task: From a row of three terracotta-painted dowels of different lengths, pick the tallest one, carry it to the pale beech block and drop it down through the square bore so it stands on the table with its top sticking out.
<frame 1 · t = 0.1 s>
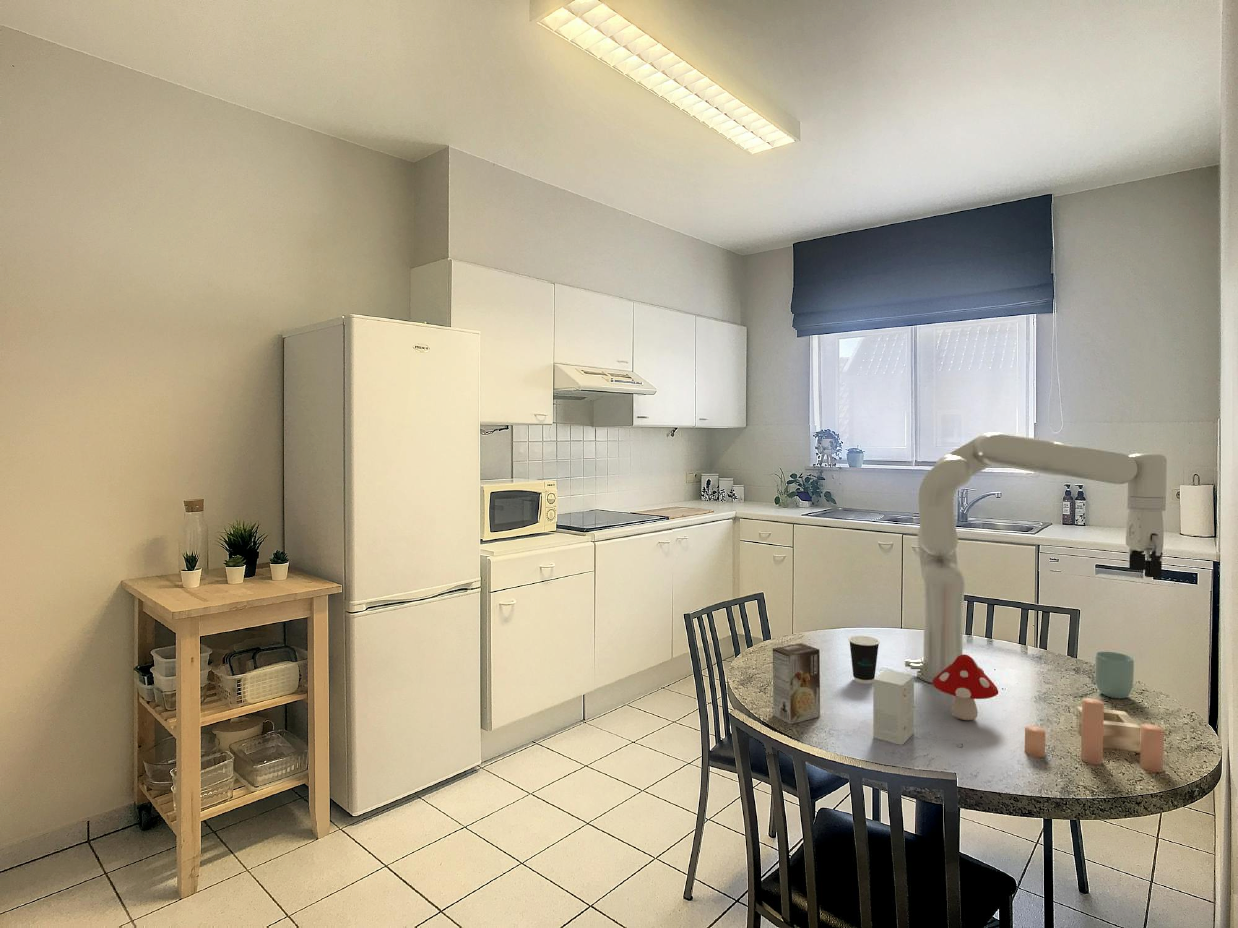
hand: (1144, 573, 169), 31 cm above the table, tool pointing down, fingers open, 9 cm apart
medium pin: (1151, 767, 135), on the table
small box: (893, 736, 151), on the table
cup: (1113, 696, 173), on the table
coffee box: (796, 717, 161), on the table
long pin: (1091, 760, 138), on the table
bore block: (1106, 739, 148), on the table
short pin: (1034, 753, 142), on the table
decorative mushroom: (965, 719, 159), on the table
dixie cup: (863, 681, 185), on the table
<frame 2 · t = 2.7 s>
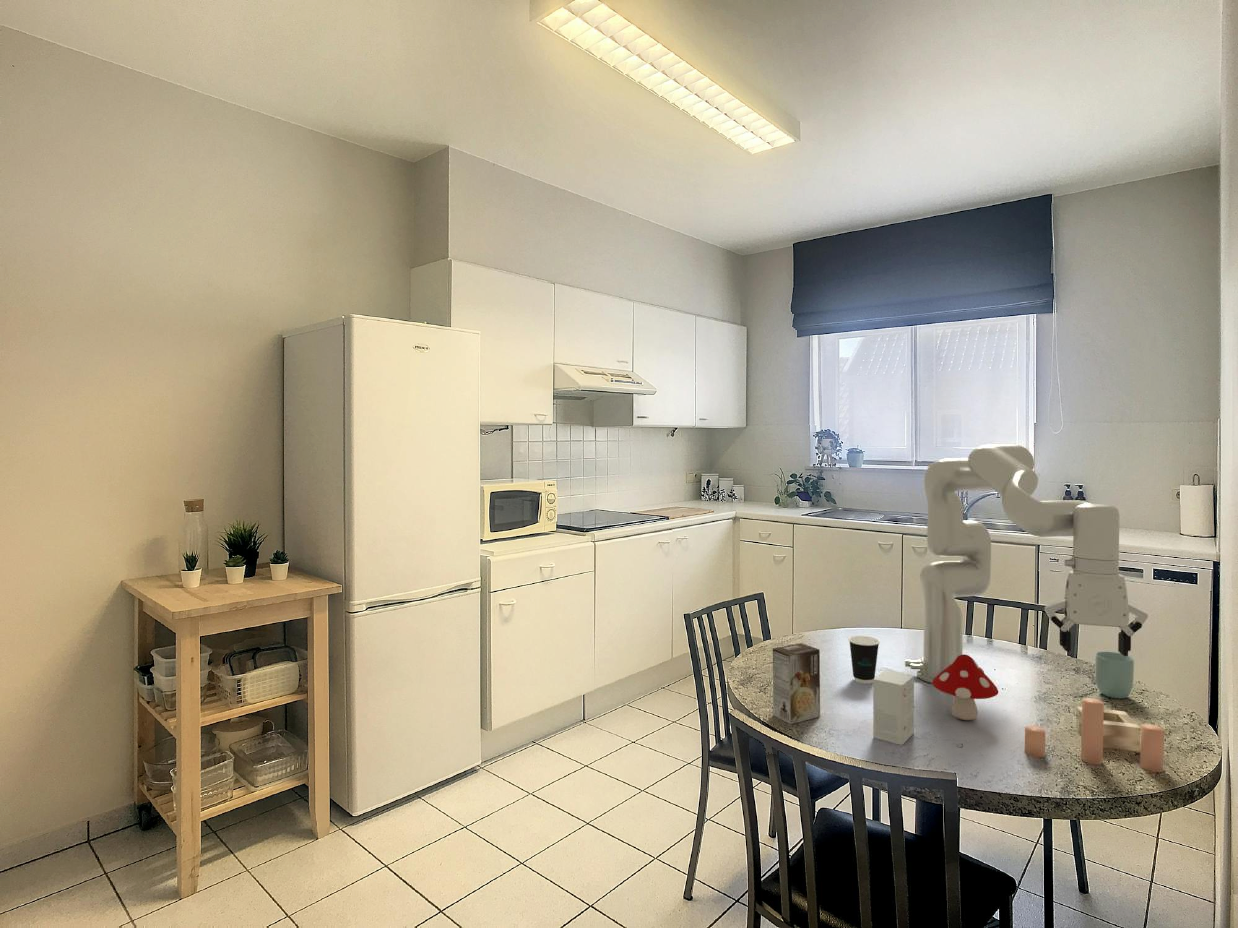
hand: (1094, 651, 137), 22 cm above the table, tool pointing down, fingers open, 9 cm apart
nothing on the table moved.
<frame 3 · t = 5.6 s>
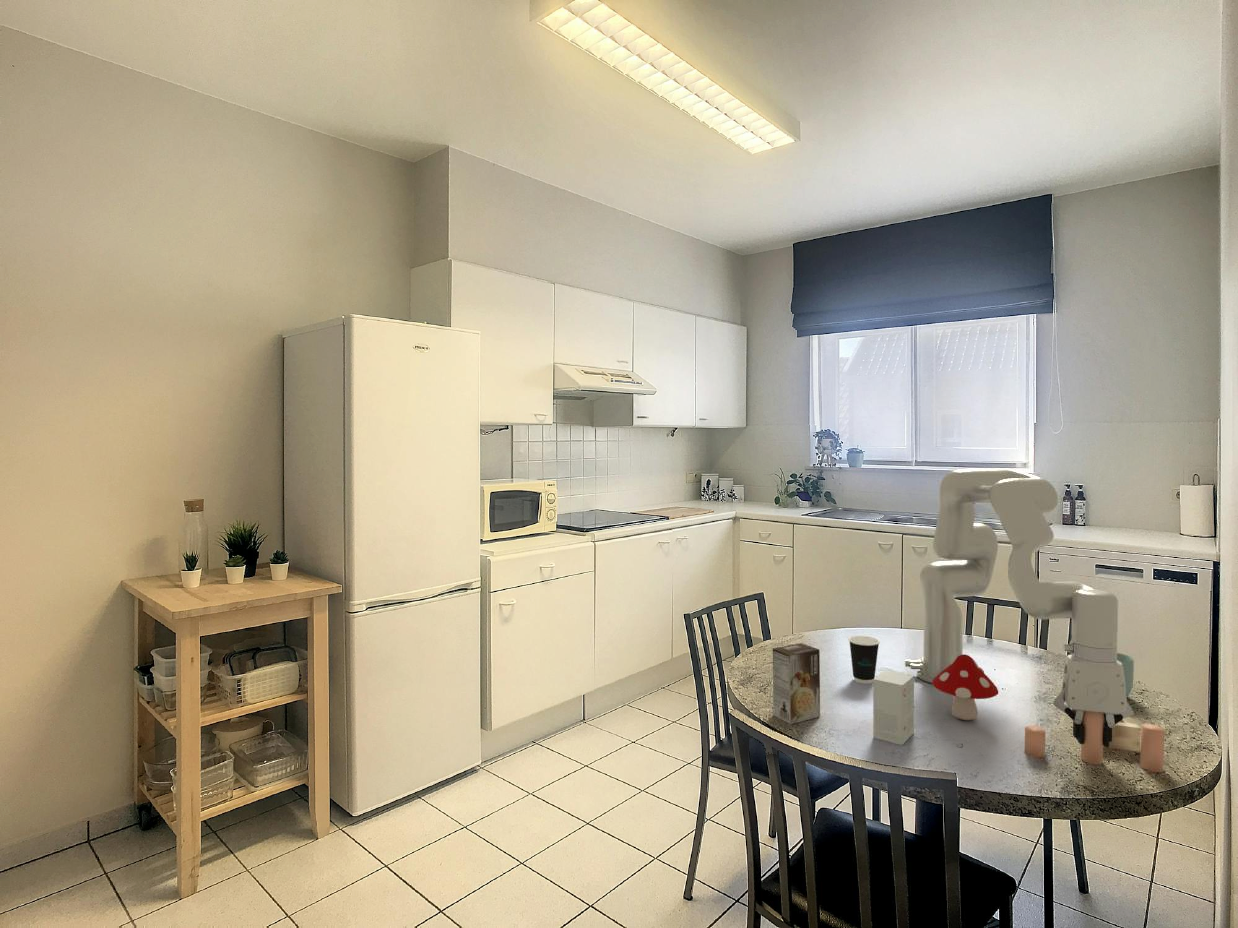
hand: (1092, 741, 138), 4 cm above the table, tool pointing down, fingers closed on long pin, 3 cm apart
long pin: (1091, 760, 138), on the table, touching gripper
everything else where it was.
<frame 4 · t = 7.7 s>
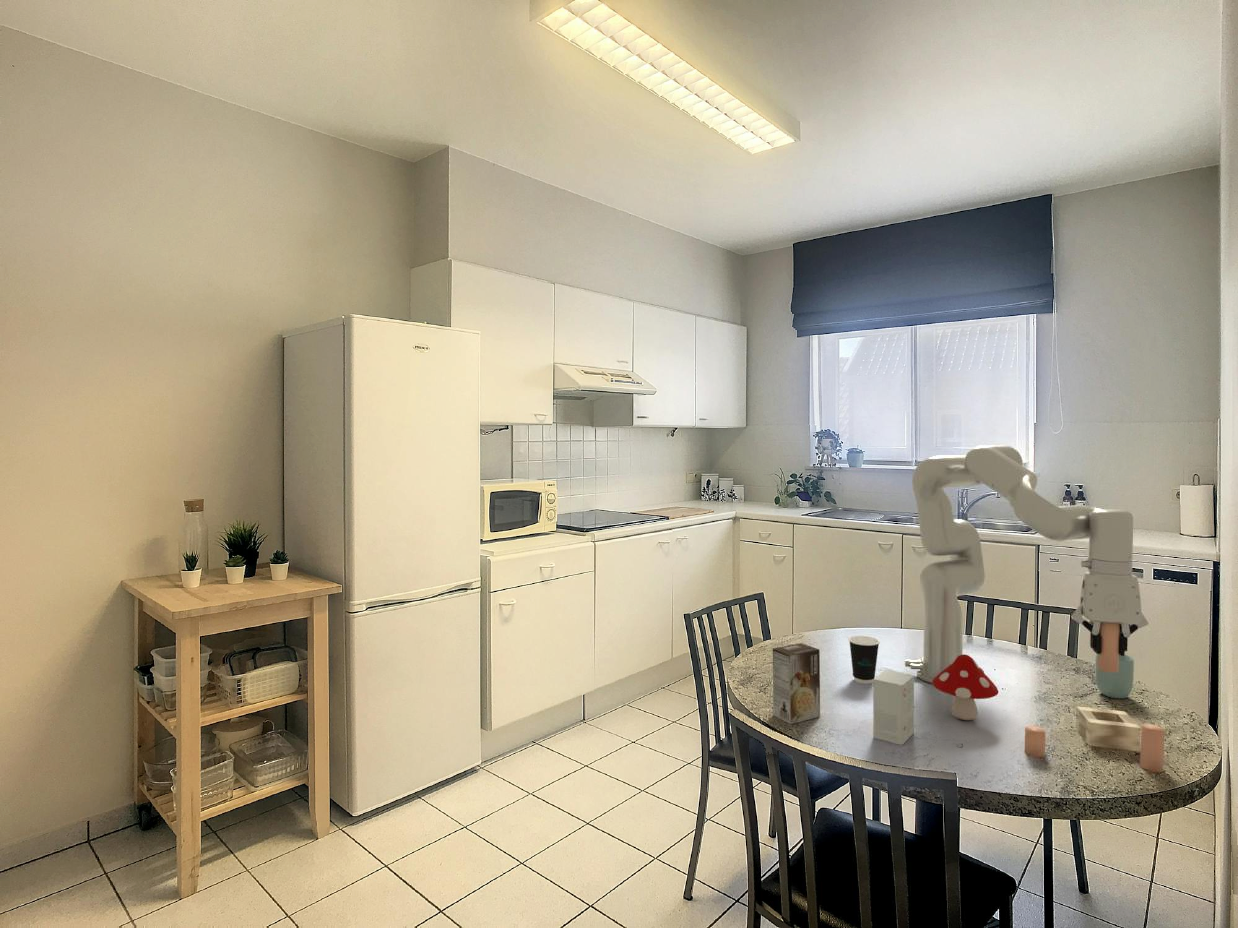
hand: (1108, 652, 147), 19 cm above the table, tool pointing down, fingers closed on long pin, 3 cm apart
long pin: (1108, 669, 147), point 15 cm above the table, touching gripper
everything else where it was.
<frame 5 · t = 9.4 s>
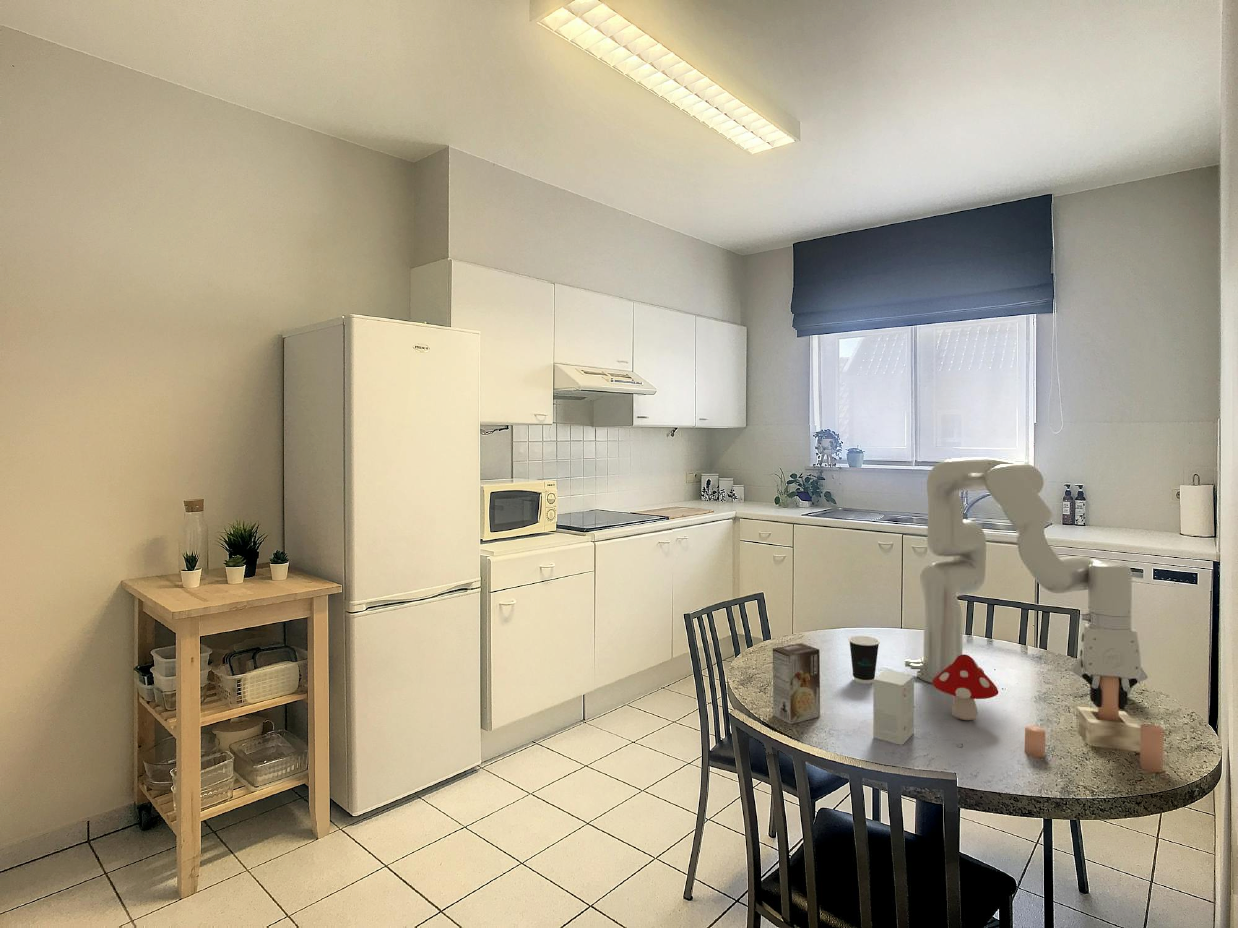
hand: (1108, 705, 147), 8 cm above the table, tool pointing down, fingers closed on long pin, 3 cm apart
long pin: (1108, 722, 147), point 4 cm above the table, touching gripper
everything else where it was.
when the fingers open (6 cm above the table, at t = 10.3 s): long pin drops 2 cm, resting in bore block.
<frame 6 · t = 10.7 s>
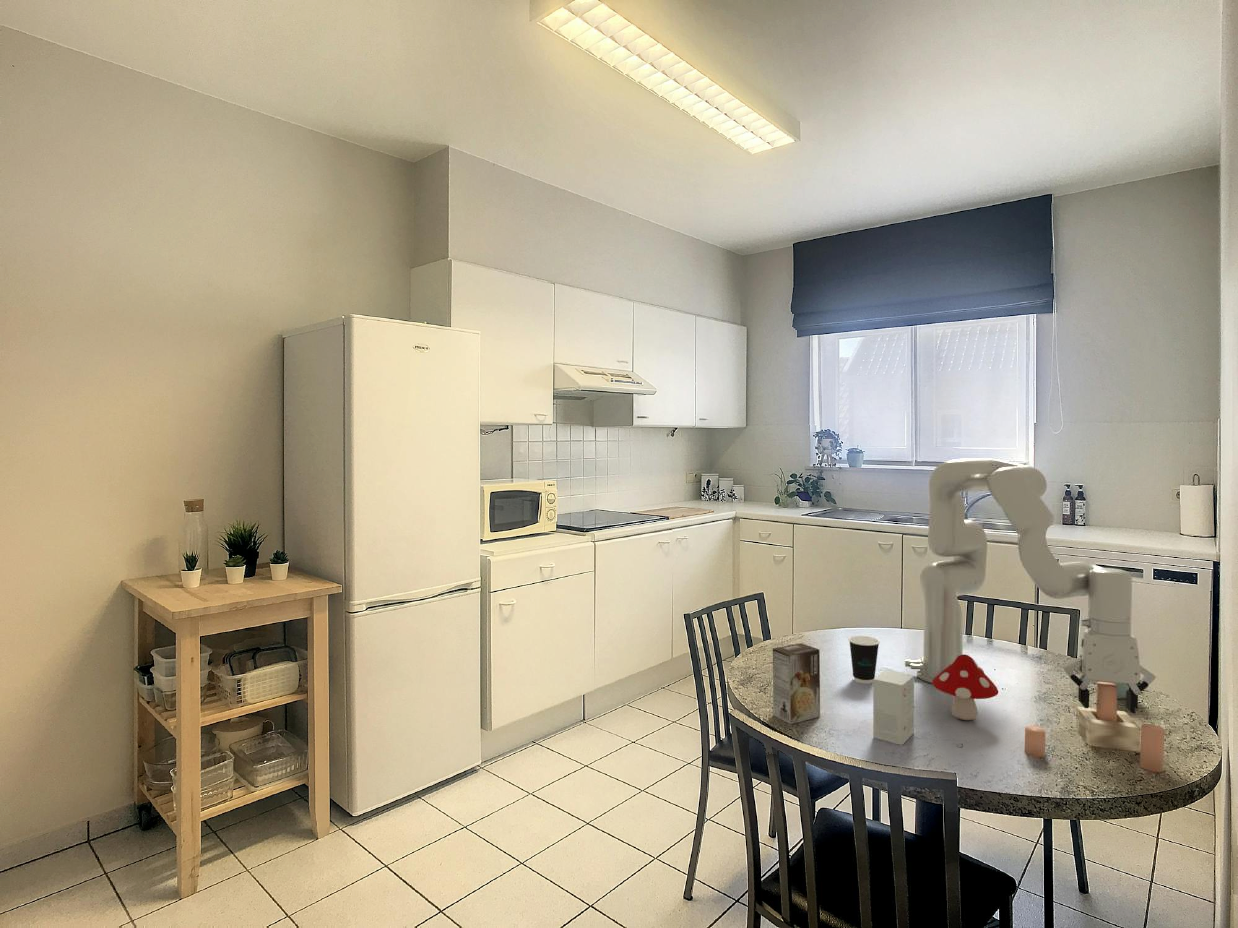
hand: (1107, 707, 147), 7 cm above the table, tool pointing down, fingers open, 7 cm apart
long pin: (1106, 739, 148), resting in bore block
everything else where it was.
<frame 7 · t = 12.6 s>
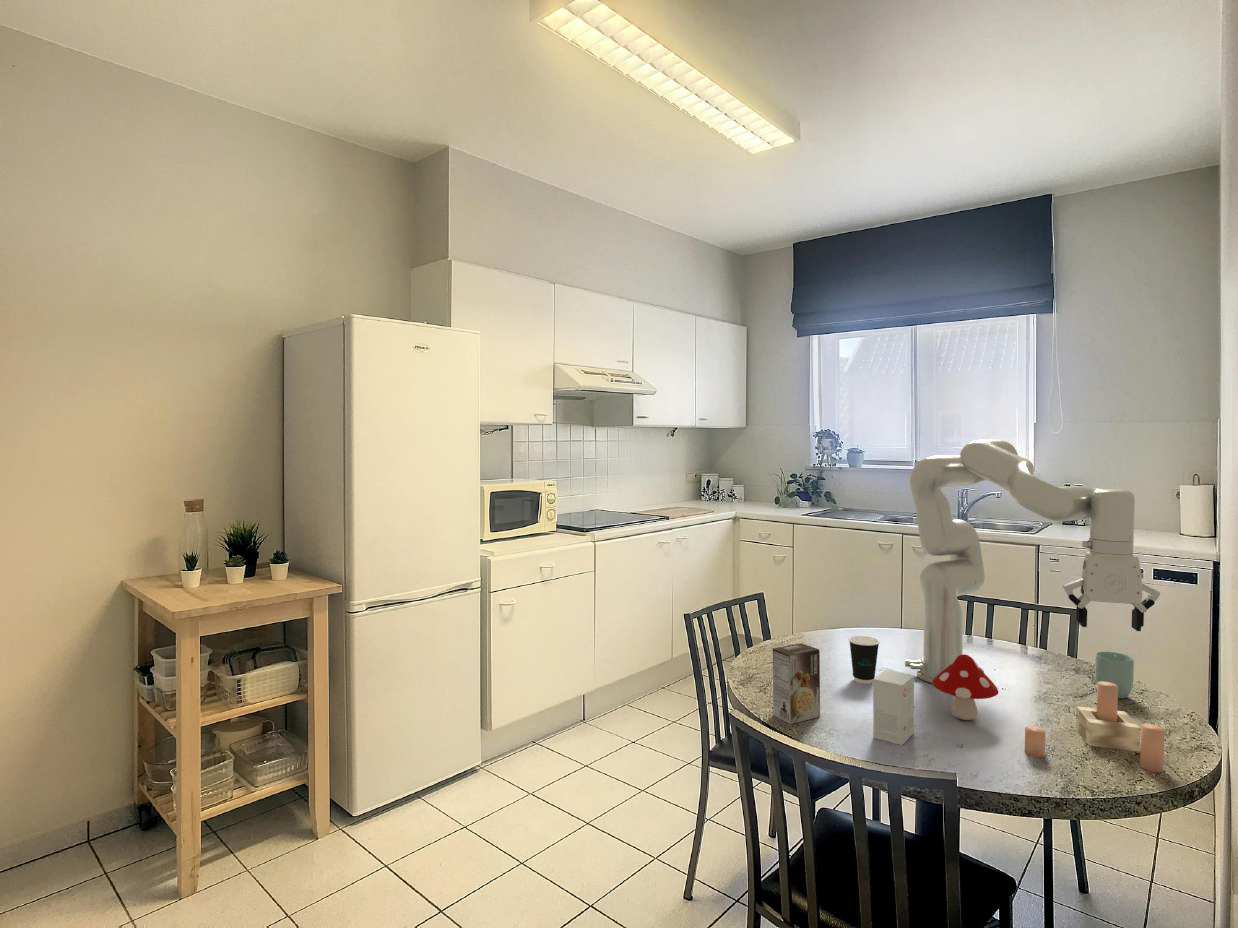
hand: (1109, 627, 147), 24 cm above the table, tool pointing down, fingers open, 9 cm apart
nothing on the table moved.
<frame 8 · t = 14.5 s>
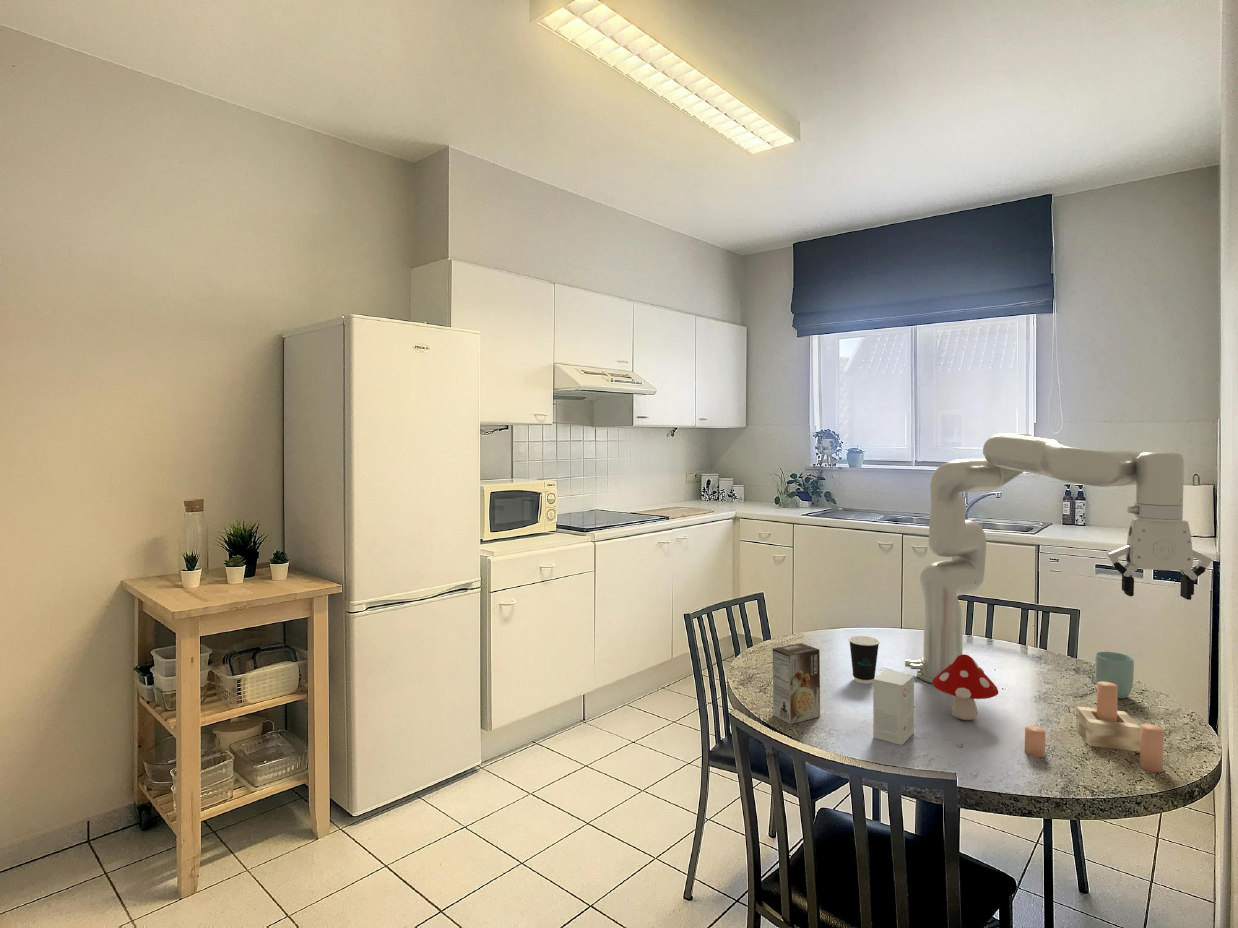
hand: (1157, 596, 140), 32 cm above the table, tool pointing down, fingers open, 9 cm apart
nothing on the table moved.
at the end: long pin 0.1 cm off-centre on the bore block, point 0.0 cm above the bore block's base; long pin tilted 0°; the gripper is holding nothing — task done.
